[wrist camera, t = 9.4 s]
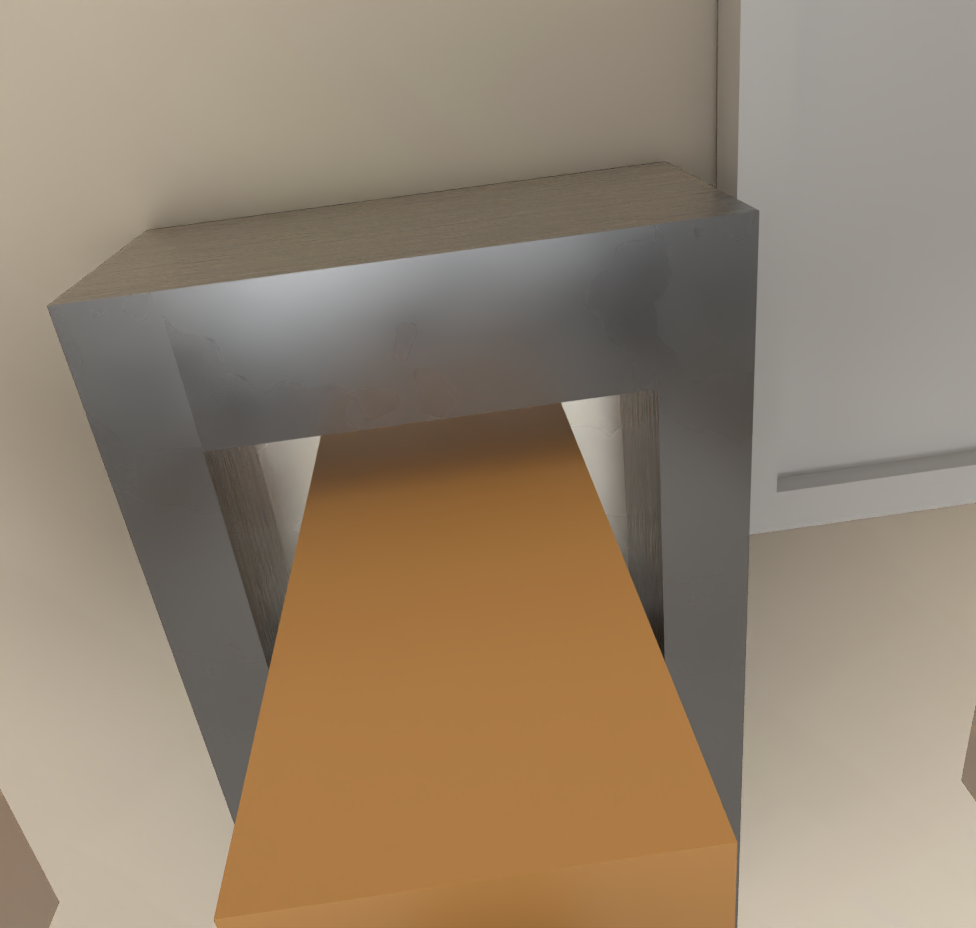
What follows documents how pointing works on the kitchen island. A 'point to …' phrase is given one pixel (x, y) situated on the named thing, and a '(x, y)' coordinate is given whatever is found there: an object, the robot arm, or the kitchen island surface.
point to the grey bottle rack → (431, 400)
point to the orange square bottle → (470, 705)
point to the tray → (856, 250)
